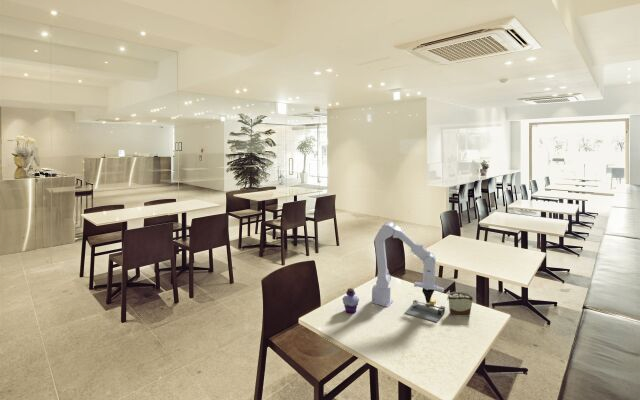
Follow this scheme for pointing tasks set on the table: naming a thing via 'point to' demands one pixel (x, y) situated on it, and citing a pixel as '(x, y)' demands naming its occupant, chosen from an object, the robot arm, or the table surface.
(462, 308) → the food container
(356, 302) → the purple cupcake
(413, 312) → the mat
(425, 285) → the robot arm
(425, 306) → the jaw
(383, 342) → the table surface
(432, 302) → the collar
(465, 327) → the table surface
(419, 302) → the tongs fixed
